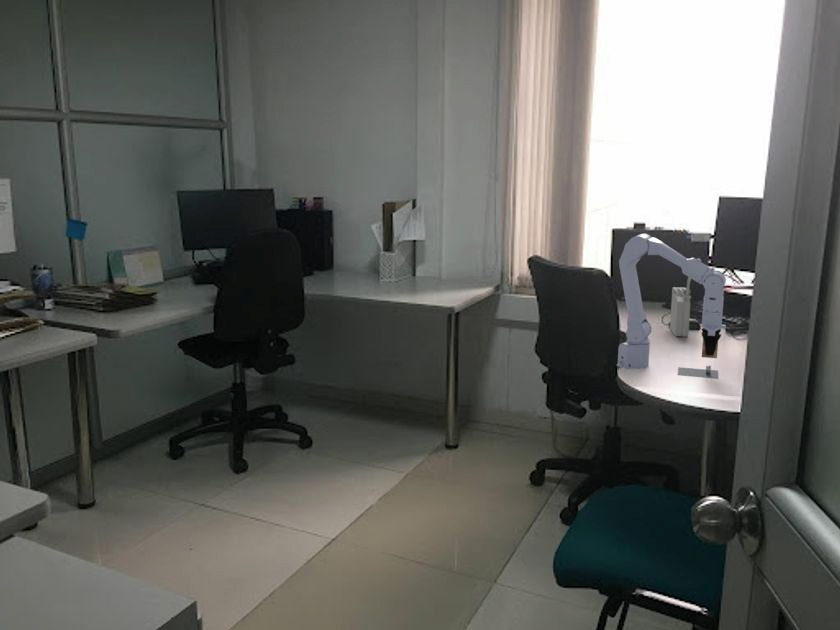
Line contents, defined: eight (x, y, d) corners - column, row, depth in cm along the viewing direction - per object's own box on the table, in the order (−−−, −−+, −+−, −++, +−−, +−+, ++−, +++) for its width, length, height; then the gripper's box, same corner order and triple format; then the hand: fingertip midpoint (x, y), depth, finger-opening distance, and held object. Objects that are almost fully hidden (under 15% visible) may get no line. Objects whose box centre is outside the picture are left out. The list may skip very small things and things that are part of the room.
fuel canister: (690, 338, 272) (694, 274, 267) (676, 338, 273) (680, 274, 268) (682, 329, 287) (686, 268, 282) (669, 329, 288) (673, 267, 282)
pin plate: (677, 378, 225) (677, 375, 225) (678, 370, 233) (678, 367, 233) (718, 381, 221) (718, 378, 221) (717, 373, 229) (718, 370, 229)
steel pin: (707, 374, 225) (708, 366, 224) (704, 373, 226) (705, 365, 226) (711, 374, 225) (711, 366, 225) (708, 372, 227) (709, 365, 226)
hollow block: (701, 357, 223) (702, 341, 222) (701, 353, 227) (702, 338, 226) (716, 358, 222) (718, 342, 221) (716, 354, 226) (717, 339, 225)
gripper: (727, 316, 213) (723, 360, 216) (726, 306, 227) (723, 348, 229) (702, 314, 216) (699, 358, 219) (702, 305, 229) (699, 346, 232)
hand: (709, 352), depth 224 cm, fingers closed on hollow block, 4 cm apart
